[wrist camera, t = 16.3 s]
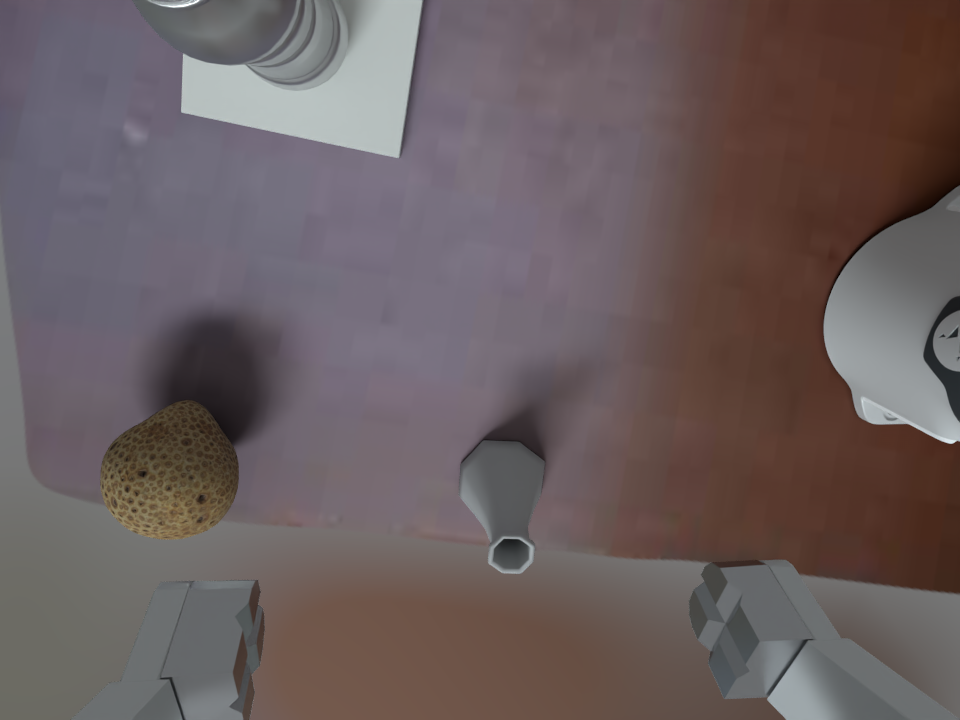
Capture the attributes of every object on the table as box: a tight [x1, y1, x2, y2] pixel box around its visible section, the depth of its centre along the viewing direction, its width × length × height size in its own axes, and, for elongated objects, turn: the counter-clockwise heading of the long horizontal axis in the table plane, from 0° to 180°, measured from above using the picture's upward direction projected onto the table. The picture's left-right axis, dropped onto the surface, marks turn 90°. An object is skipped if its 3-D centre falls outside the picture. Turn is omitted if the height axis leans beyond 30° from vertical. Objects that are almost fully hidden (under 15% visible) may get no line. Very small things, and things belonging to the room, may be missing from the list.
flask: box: [459, 440, 545, 574], centre depth 45 cm, size 7×7×10 cm
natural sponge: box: [100, 400, 239, 539], centre depth 43 cm, size 9×9×10 cm
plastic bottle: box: [132, 0, 348, 91], centre depth 28 cm, size 6×7×20 cm
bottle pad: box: [181, 0, 424, 158], centre depth 38 cm, size 14×12×1 cm
